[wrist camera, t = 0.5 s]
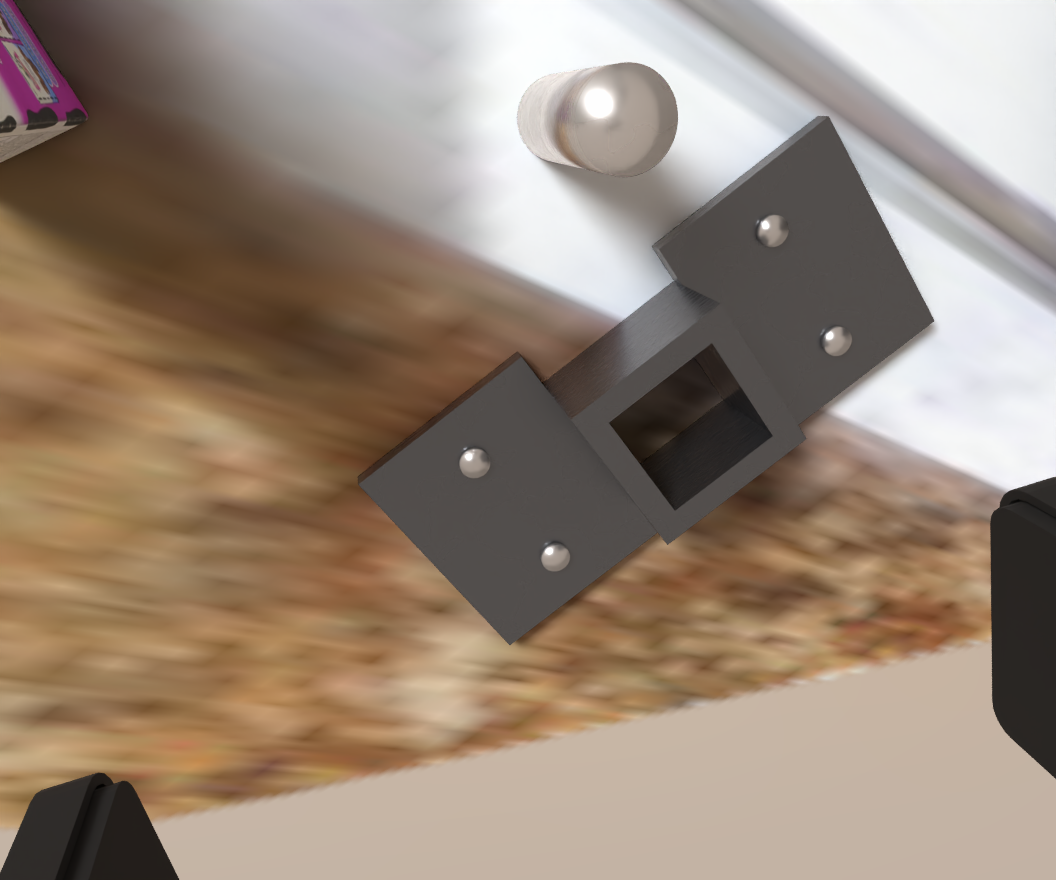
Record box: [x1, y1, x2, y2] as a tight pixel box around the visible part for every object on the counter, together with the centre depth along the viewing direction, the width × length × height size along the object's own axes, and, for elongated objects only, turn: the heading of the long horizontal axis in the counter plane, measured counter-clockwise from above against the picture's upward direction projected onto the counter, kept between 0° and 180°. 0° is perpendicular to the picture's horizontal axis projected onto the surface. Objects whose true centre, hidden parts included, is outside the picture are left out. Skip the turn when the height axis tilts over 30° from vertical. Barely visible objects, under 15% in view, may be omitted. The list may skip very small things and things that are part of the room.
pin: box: [517, 62, 678, 177], centre depth 28 cm, size 3×3×8 cm
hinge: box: [358, 116, 934, 645], centre depth 34 cm, size 23×10×4 cm, turn 127°
